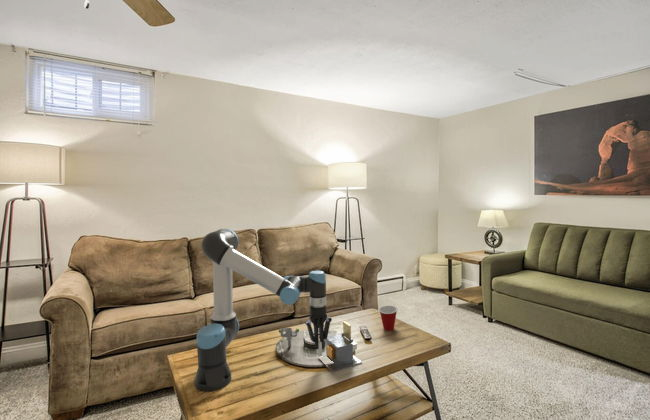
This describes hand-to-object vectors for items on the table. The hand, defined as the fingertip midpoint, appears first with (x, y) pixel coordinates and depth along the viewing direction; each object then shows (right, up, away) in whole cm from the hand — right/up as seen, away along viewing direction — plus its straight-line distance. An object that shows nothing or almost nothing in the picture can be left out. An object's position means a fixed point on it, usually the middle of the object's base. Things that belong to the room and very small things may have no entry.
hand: (319, 354), depth 158 cm
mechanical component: (-16, -5, +20) cm, 26 cm away
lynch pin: (+11, -2, +5) cm, 12 cm away
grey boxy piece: (+10, -5, +5) cm, 12 cm away
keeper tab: (+14, +9, +6) cm, 17 cm away
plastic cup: (+39, -2, +39) cm, 56 cm away
